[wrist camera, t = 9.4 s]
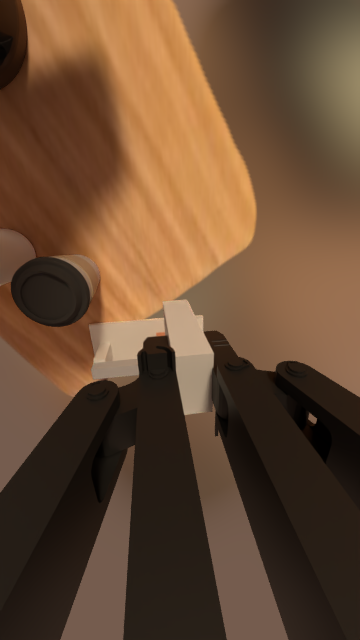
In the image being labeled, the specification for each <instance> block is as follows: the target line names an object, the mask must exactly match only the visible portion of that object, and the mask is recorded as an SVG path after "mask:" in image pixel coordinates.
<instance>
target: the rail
mask: <svg viewBox="0 0 360 640" xmlns="http://www.w3.org/2000/svg"><path fill="white" fill-rule="evenodd" d="M195 317H196V319H197V321H198V323H199V325H200V327H201V329H202V331H203V316H202V315H197V316H195ZM89 330H90V335H91V340H92V345H93V350H94V355H95V357H94V360H93V362H94V363H93V366H92V368H91V371H92V376H93V379H103V378H113V377H123V376H133V375H139V369H138V360H137V354H138V352H139V351H140V350H141V349H142V348H143V342H144V341H145V339H146V338H147V337H154V336H156V333H160V332H165V328H164V318H160V319H159V318H158V319H144V320H131V321H118V322H105V323H92V324H89Z"/></svg>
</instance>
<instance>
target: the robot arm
mask: <svg viewBox="0 0 360 640" xmlns="http://www.w3.org/2000/svg"><path fill="white" fill-rule="evenodd" d="M26 43H27V31H26V21H25V15H24V11H23V7H22V3H21V0H0V89H1V88H3V87H5V86H6V85H7V84H9V83H10V82H11V81H12V80H13V79H14V78H15V76H16V75H17V73H18V72H19V70H20V68H21V66H22V63H23V60H24V56H25V51H26ZM163 311H164V328H165V336H154V337H147V338H146V339H145V341H144V342H143V348H142V349H141V350H140V351H139V352H138V354H137V360H138V369H139V378H138V379H137V380H136V381H134V382H132V383H130V384H128V385H126V386H122V387H119V388H118V387H117V385H116V384H115V383H114V382H112V381H107V380H104V381H96V382H93V383H90V384H88V385H86V386H85V387H83V388H82V389H81V390H80V391H79V392H78V393H77V394H76V395H75V397H74V398H73V399H72V401H71V402H70V403H69V405H68V406H67V407H66V409H65V410H64V411H63V412H62V414H61V415H60V416H59V417H58V419H57V420H56V422H55V423H54V424H53V425H52V427H51V428H50V429H49V430H48V432H47V433H46V434H45V436H44V437H43V438H42V440H41V441H40V442H39V443H38V445H37V446H36V447H35V449H34V450H33V451H32V452H31V454H30V455H29V456H28V458H27V459H26V460H25V462H24V463H23V464H22V465H21V467H20V468H19V469H18V471H17V472H16V473H15V475H14V476H13V477H12V478H11V480H10V481H9V482H8V484H7V485H6V486H5V487H4V489H3V490H2V492H1V493H0V640H60V639H61V636H62V633H63V630H64V628H65V625H66V622H67V619H68V616H69V614H70V611H71V608H72V605H73V602H74V600H75V597H76V594H77V591H78V588H79V586H80V583H81V580H82V577H83V574H84V572H85V569H86V566H87V563H88V560H89V557H90V555H91V552H92V549H93V546H94V544H95V541H96V538H97V535H98V532H99V530H100V527H101V524H102V521H103V518H104V516H105V513H106V510H107V507H108V504H109V502H110V499H111V496H112V493H113V490H114V488H115V485H116V482H117V479H118V476H119V473H120V471H121V468H122V465H123V462H124V460H125V457H126V454H127V449H128V448H129V447H131V446H133V445H135V455H134V472H133V489H132V504H131V521H130V538H129V554H128V570H127V587H126V603H125V620H124V638H123V640H227V639H226V633H225V628H224V623H223V617H222V613H221V607H220V602H219V596H218V591H217V586H216V581H215V575H214V570H213V564H212V559H211V554H210V549H209V544H208V538H207V533H206V527H205V522H204V517H203V511H202V506H201V501H200V496H199V490H198V485H197V480H196V474H195V469H194V464H193V459H192V454H191V448H190V443H189V437H188V432H187V427H186V422H185V416H184V415H186V414H195V413H203V412H212V404H214V406H215V409H216V414H215V436H218V430H219V433H220V436H221V439H222V442H223V445H224V448H225V451H226V454H227V457H228V459H229V463H230V466H231V469H232V471H233V475H234V478H235V481H236V484H237V487H238V490H239V492H240V496H241V498H242V501H243V505H244V508H245V511H246V513H247V517H248V520H249V523H250V526H251V529H252V532H253V535H254V537H255V540H256V543H257V546H258V549H259V552H260V555H261V558H262V561H263V564H264V567H265V570H266V573H267V576H268V579H269V582H270V585H271V588H272V591H273V594H274V597H275V600H276V603H277V606H278V609H279V612H280V615H281V618H282V621H283V624H284V626H285V630H286V633H287V636H288V639H289V640H360V397H358V396H356V395H355V394H353V393H352V392H350V391H348V390H347V389H345V388H344V387H342V386H340V385H339V384H337V383H336V382H334V381H332V380H330V379H329V378H328V377H326V376H324V375H323V374H321V373H319V372H318V371H316V370H315V369H313V368H311V367H310V366H308V365H305V364H303V363H300V362H297V361H284V362H281V363H279V364H278V365H277V367H276V371H275V372H271V371H262V370H256V369H255V367H254V366H253V365H252V363H250V362H249V361H248V360H246V359H244V358H241V357H238V356H237V354H236V353H235V351H234V350H233V348H232V347H231V346H230V345H229V343H228V341H227V340H226V338H225V337H224V335H223V334H221V333H220V332H218V331H206V332H203V331H202V329H201V327H200V325H199V323H198V321H197V319H196V317H195V315H194V313H193V311H192V309H191V307H190V305H189V303H188V301H187V300H175V301H163ZM309 412H310V413H311V414H312V415H313V416H314V417H316V418H317V422H316V424H313V423H312V422H311V421H309V420H308V417H309Z"/></svg>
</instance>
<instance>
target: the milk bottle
mask: <svg viewBox="0 0 360 640" xmlns="http://www.w3.org/2000/svg"><path fill="white" fill-rule="evenodd" d="M35 258H36V253H35V250H34V248H33V246H32V244H31V243H30V242H29V240H28V239H27V238H26V237H24V236H23V235H22V234H20V233H18V232H16V231H14V230H10V229H0V286H1V285H4V284H6V283H9V282H11V281H12V278H13V275H14V274H15V272H16V271H17V270H18V268H20V267H21V266H22V265H24V264H25V263H26V262H28V261H30V260H32V259H35Z"/></svg>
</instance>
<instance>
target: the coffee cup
mask: <svg viewBox="0 0 360 640" xmlns="http://www.w3.org/2000/svg"><path fill="white" fill-rule="evenodd" d="M99 281H100V272H99V269H98V267H97V265H96V264H95V263H94V262H93V261H92V260H91V259H90V258H88V257H86V256H83V255H78V254H75V255H61V256H50V257H39V258H35V259H32V260H30V261H28V262H26V263H25V264H24V265H22V266H21V267H20V268H18V270H17V271H16V272H15V274H14V275H13V278H12V281H11V293H12V296H13V299H14V301H15V303H16V305H17V306H18V308H19V309H20V310H21V311H22V312H23V313H24V314H25V315H26V316H27V317H29V318H30V319H32V320H34V321H35V322H38V323H40V324H43V325H46V326H52V327H61V326H67V325H70V324H72V323H74V322H76V321H78V320H79V319H80V318H81V317H82V316H83V315H84V314H85V313H86V311H87V309H88V307H89V304H90V302H91V300H92V298H93V296H94V294H95V292H96V290H97V287H98V284H99Z"/></svg>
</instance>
